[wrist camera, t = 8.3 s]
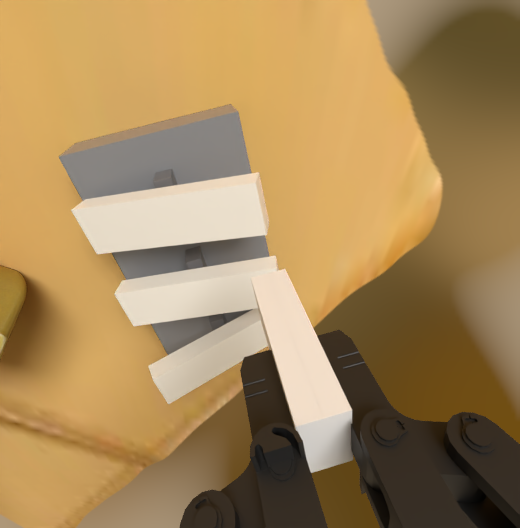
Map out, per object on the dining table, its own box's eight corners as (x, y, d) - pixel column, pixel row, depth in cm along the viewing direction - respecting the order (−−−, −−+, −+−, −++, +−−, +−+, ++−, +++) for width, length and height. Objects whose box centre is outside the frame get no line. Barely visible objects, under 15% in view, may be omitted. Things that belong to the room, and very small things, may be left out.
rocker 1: (108, 242, 23) (97, 254, 22) (85, 199, 21) (71, 210, 20) (269, 222, 21) (266, 234, 20) (258, 172, 19) (255, 182, 18)
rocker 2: (139, 312, 26) (133, 326, 25) (121, 280, 25) (114, 294, 23) (282, 290, 25) (284, 304, 24) (275, 255, 23) (276, 268, 22)
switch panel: (176, 340, 36) (175, 384, 31) (75, 143, 24) (47, 165, 19) (277, 310, 37) (291, 349, 32) (230, 104, 25) (242, 115, 20)
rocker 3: (163, 390, 28) (168, 404, 26) (148, 365, 26) (152, 379, 24) (279, 323, 31) (288, 333, 30) (273, 298, 29) (282, 307, 28)
